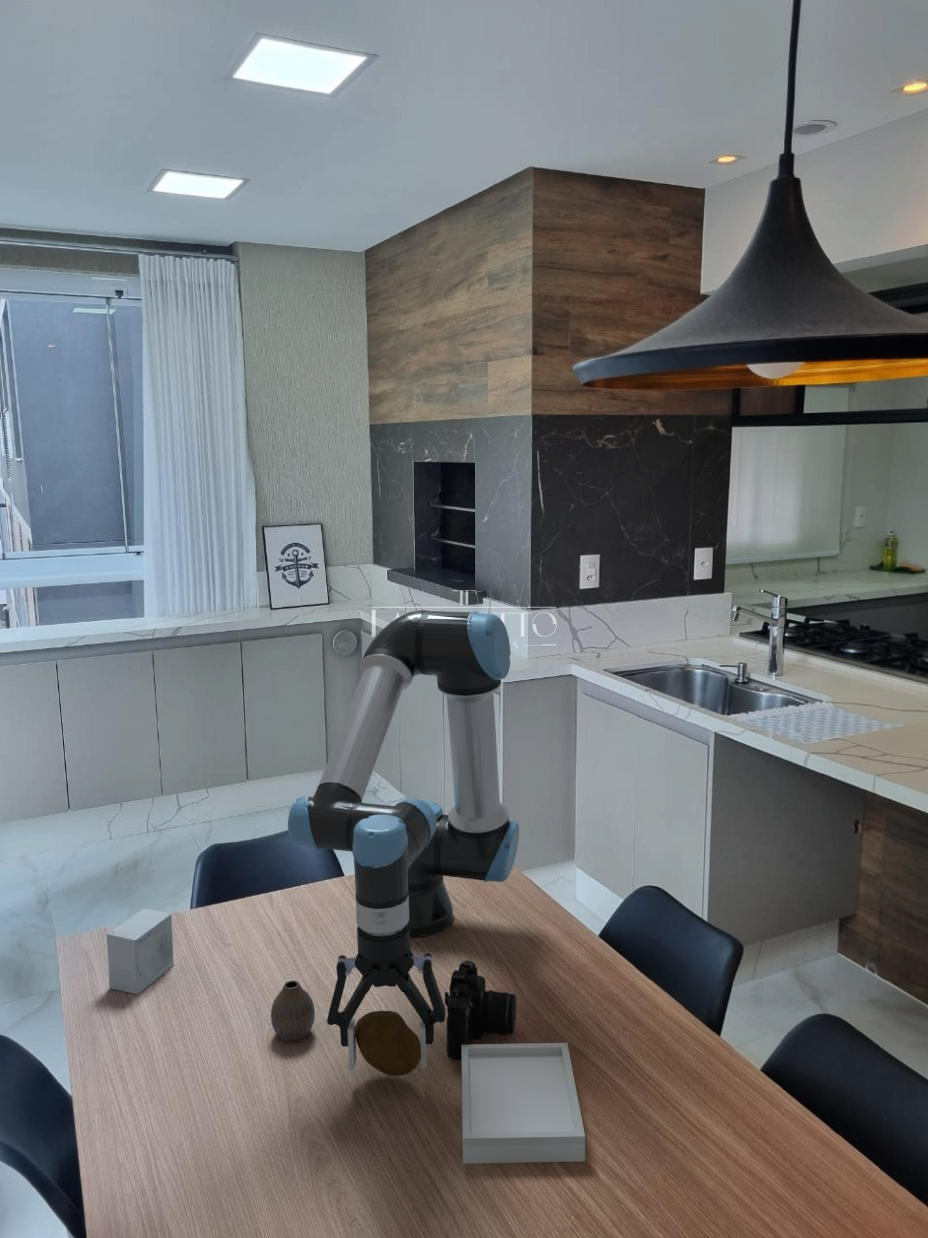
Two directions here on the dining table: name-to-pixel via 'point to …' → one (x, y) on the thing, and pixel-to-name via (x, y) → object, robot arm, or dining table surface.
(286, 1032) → the vase
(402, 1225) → the dining table surface
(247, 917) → the dining table surface
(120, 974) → the skincare box
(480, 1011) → the camera
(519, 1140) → the tray
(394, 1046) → the potato
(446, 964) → the dining table surface
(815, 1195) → the dining table surface
